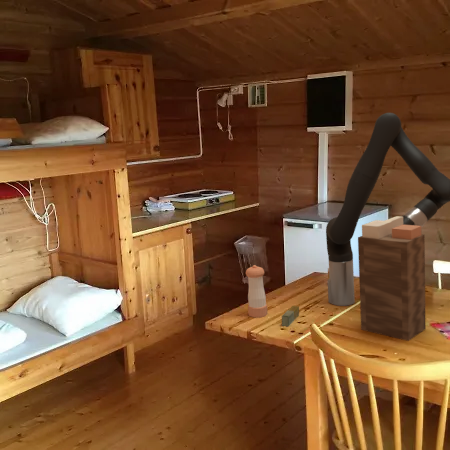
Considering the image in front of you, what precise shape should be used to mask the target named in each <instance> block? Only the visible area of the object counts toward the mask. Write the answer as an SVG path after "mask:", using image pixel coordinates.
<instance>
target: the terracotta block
mask: <svg viewBox="0 0 450 450" xmlns="http://www.w3.org/2000/svg"><path fill="white" fill-rule="evenodd" d="M421 235H423V234H422V227H421V226H415V225H400V226H397V227H395V228H392V238H400V239H410V240H412V239H414V238H416V237H418V236H421Z"/></svg>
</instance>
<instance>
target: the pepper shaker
mask: <svg viewBox="0 0 450 450" xmlns="http://www.w3.org/2000/svg"><path fill="white" fill-rule="evenodd" d="M264 275H265V269H264V268H263V267H260V266H257V265H256V264H253V265H252V266H251V267H248V268H247V269H246V270H245V276H246V277H247V278H248V281H247V282H248V294H247V300H248V305H247V311H248V316H249V317H250V318H262V317H265V316H267V315H268V304H267V302H266V299H267V297H266V293H265V292H266V291H265V288H264V278H263V277H264Z"/></svg>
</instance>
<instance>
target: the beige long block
mask: <svg viewBox="0 0 450 450" xmlns="http://www.w3.org/2000/svg"><path fill="white" fill-rule="evenodd" d="M401 216H402V215H400V216H398V215H397V216H394V217H391V218H388V219H386V220H378V219H375V220H373V221H370V222H367V223H364V224H361V236H362V237H366V238H376V239H380V238H382V237H384V236H387V235H389V234H392V228H394V227H397V226H400V225H402V224H403V217H401Z"/></svg>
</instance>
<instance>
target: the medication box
mask: <svg viewBox="0 0 450 450" xmlns="http://www.w3.org/2000/svg"><path fill="white" fill-rule="evenodd" d="M299 316H300V306H298V305H291V306H290V307H289V309H288V310H286V311H285V312H284V313H283V314H282V315H281V327H284V326H286V327H288V328H289V327H290V325H292V323H293V322H294V321H295V320H296V319H297V318H298V317H299ZM286 327H285V328H286Z"/></svg>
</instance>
